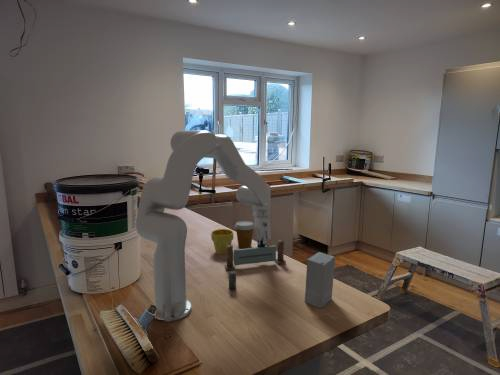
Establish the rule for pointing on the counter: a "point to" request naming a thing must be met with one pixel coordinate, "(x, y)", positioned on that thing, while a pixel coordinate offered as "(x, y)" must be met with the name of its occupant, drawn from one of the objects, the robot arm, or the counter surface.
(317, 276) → the skincare box
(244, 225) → the disposable coffee cup
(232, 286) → the gate posts
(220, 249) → the plant pot
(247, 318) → the counter surface
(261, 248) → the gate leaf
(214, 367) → the counter surface
